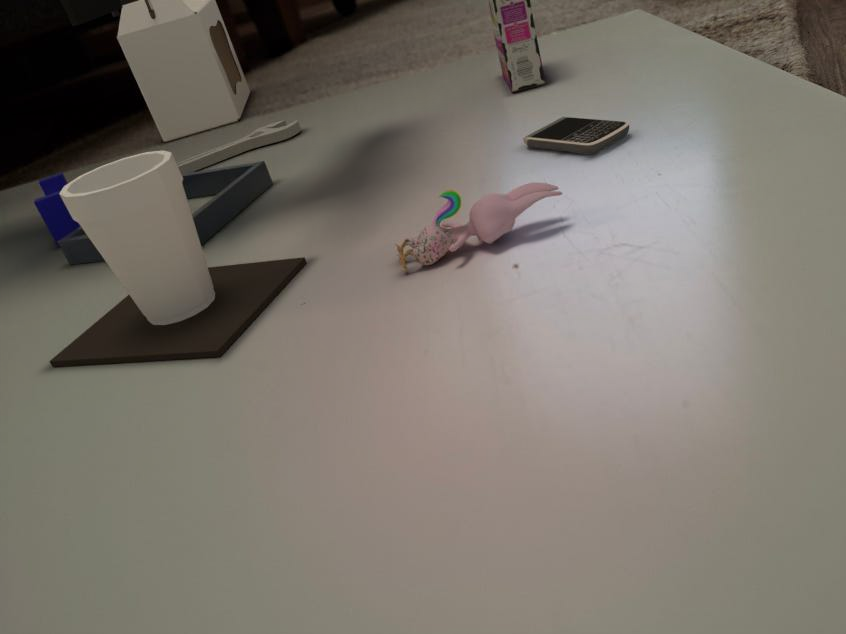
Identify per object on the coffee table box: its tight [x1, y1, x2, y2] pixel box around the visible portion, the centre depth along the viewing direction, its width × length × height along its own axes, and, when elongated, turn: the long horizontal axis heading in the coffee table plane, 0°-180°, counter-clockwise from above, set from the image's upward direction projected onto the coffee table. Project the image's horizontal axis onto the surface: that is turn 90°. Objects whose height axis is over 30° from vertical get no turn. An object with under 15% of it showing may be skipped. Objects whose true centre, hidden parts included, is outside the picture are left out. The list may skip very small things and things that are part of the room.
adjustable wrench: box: [176, 119, 302, 174], centre depth 122 cm, size 25×6×2 cm, turn 114°
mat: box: [49, 256, 307, 368], centre depth 77 cm, size 18×16×1 cm
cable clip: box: [33, 171, 80, 248], centre depth 108 cm, size 12×4×6 cm, turn 23°
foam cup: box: [59, 149, 215, 325], centre depth 73 cm, size 10×9×13 cm
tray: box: [58, 160, 274, 266], centre depth 100 cm, size 18×18×3 cm
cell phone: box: [522, 116, 630, 155], centre depth 90 cm, size 6×11×1 cm, turn 41°
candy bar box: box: [486, 0, 546, 93], centre depth 113 cm, size 11×5×16 cm, turn 6°
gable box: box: [116, 0, 251, 143], centre depth 143 cm, size 22×13×28 cm, turn 9°
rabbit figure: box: [394, 181, 563, 274], centre depth 72 cm, size 6×6×15 cm
